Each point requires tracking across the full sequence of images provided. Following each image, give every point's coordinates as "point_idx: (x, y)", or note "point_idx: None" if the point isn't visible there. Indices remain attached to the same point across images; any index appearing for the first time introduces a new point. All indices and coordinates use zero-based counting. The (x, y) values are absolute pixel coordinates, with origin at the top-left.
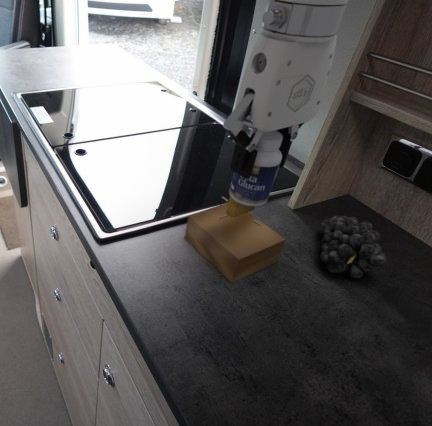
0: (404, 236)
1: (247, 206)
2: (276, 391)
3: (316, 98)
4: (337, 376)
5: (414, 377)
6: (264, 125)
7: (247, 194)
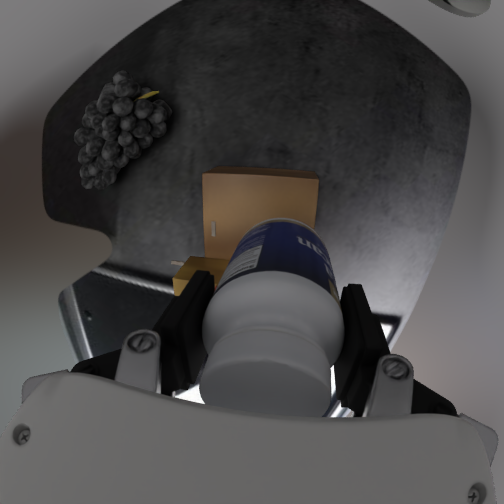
0: (47, 136)
1: (207, 264)
2: (388, 43)
3: (29, 475)
4: (310, 13)
5: None
6: (479, 439)
7: (326, 253)
